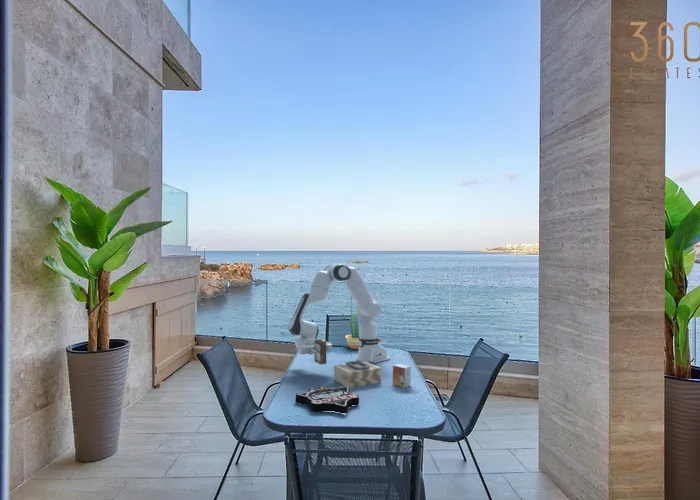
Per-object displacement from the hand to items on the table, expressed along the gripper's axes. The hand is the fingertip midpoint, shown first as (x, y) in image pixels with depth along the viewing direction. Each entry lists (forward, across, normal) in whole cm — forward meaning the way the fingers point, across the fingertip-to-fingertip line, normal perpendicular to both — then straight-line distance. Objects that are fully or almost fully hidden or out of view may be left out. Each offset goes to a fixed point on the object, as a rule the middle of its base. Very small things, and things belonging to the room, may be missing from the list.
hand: (321, 351), depth 245 cm
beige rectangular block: (+17, +14, +15) cm, 26 cm away
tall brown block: (-1, 0, +7) cm, 7 cm away
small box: (+34, +30, +15) cm, 48 cm away
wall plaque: (+41, -16, +15) cm, 46 cm away
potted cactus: (-56, +57, +16) cm, 81 cm away
